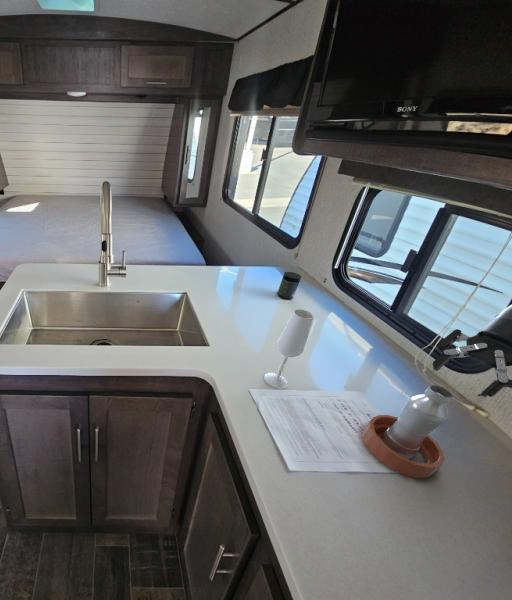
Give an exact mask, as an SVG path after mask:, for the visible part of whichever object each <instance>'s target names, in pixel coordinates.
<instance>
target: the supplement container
mask: <svg viewBox="0 0 512 600" xmlns="http://www.w3.org/2000/svg"><path fill="white" fill-rule="evenodd" d="M301 280H302V275H301V274H299V273H296V272H294V271H284V272H283V276H282V278H281V281H280V284H279V287H278V290H277V296H278V297H280V298H281V299H282V300H293V299H294V298H295V295H296V293H297V289H298V287H299V285H300V282H301Z"/></svg>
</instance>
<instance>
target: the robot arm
mask: <svg viewBox="0 0 512 600" xmlns="http://www.w3.org/2000/svg"><path fill="white" fill-rule="evenodd" d="M462 341H464V342H466V345H462V346H457V347H455V348H450V347H451V346H452V345H453V344H455V343H456V342H457V343H461V342H462ZM435 347H436V351H437V352H438V353H439V354H440V355H439V356H438V357H437V358H436V359H435V360H433V362H432V368H433V369H432V370H434V371H436V372H438V371H439V370H441V368H442V367H444V366H445V365H446V364H447V363H448V362H450V359H454V358H467V357H469V358H470V360H471V361H472V362H473V361H474V362H476V363H480V365H483V366H484V367H485V368H488V369H489V368H492V369H494V372H495V376H496V379H495V380H493V382H492V383H491V384H489V385H488V386H487V387H486V388H485V389H483V390H482V392H481V393H480V395H481V397H484V398H486V397H490V398H492V397H494V396H496V395H497V394H498V393H499V392H500V391H501V390H502V389H504V388H509V389H512V379H510V378H509V377H508V369H507V367H512V303H511V304H510V305H509V306H507V307H505V308H504V309H503V310H502V311H500V312H499V313H497V314H496V315H495V316H494V318H492V320H491V321H489V322H488V323H487V324H486V325H485V326H484V327H483V328H482V329H481V330H479V331H478V332H477V333H476V334H475V335H472V336H469V335H467V334H465V333H463V332H462V330H461V329H458V328H455V329H454V330H452V331H451V332H450V333H449V334H448V335H447V336H445V337H444V338H442V339H441V340H440V341H439V342H438V343H436V345H435ZM448 348H449V349H448Z"/></svg>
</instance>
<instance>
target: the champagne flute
mask: <svg viewBox="0 0 512 600" xmlns="http://www.w3.org/2000/svg"><path fill="white" fill-rule="evenodd" d="M314 317H315V316H314V314H313V313H312V312H311V311H308V310H306V309H302V308H296V309H294V310H293V312H292V314H291V315H290V317H289V319H288V321H287V322H286V325H285V327H284V328H283V330H282V332H281V334H280V336H279V338H278V340H277V342H276V346H277V349H278V351H279V353H280V354H281V355H282V359H281V362H280V364H279V366H278V369H277V371H276V373H275V372H267V373H266V374H264V376H263V378H264V381H265V383H266V384H267V385H269V386H270V387H272V388H275V389H278V390H284V389H287V388H288V387H289V381H288V380H287V379H286V378H285V377H284V376H283V375H282V374H283V371H284V369H285V366H286V364H287V361H288V359H289V358H290V359H291V358H296V357H299V356H301V355H303V353H304V351H305V348H306V344H307V340H308V337H309V334H310V331H311V328H312V324H313V321H314Z"/></svg>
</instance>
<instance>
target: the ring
mask: <svg viewBox="0 0 512 600" xmlns="http://www.w3.org/2000/svg"><path fill="white" fill-rule="evenodd" d="M398 418H399V417H398V416H395V415H389V414H376V415H375V416H372V418H370V420H369V421H368V423H367V424H366V426H365V427H364V429H363V430H362V432H361V434H362V435H361V437H362V438H361V439H362V441H363V443H364V445H365V447H366V448H367V450H368V451H369V452H370V453H371V455H373V456H374V457H375V459H377V460H378V461H379V462H380V463H382V464H383V465H384V466H386V467H387V468H389V469H391V470H392V471H394V472H396V473H398V474H401V475H403V476H406V477H410V478H414V479H427V478H429V477H432V476H433V475H434V474H435V473H436V472H437V471H438V470H439V469H440V468H441V467H442V466H443V464H444V463H445V454H444V451H443V450H442V448H441V446H440V445H439V443H438V442H437V440H435V439H434V438H433V437H432V436H431V435H430V434H429V435H428V436H427V437H426V438H425V439H424V441H423V442H422V444H421V446H420V448H419V451H418V453H419V454H420V455H421V457H422V459H423V463H421V462H417V461H413V460H411V459H407V458H404V457H402V456H401V455H399V454H397V453H396V452H394V451H393V450H391V449H390V448H389V447H388V446H386V445H385V444H384V443H383V442H382V441H381V440H380V437H381V435H382V433H383V432H385V431H386V430H387V429H388V428H390V427H391V426H392V425H393V424H394V423H395V422H396V421H397V420H398Z"/></svg>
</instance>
